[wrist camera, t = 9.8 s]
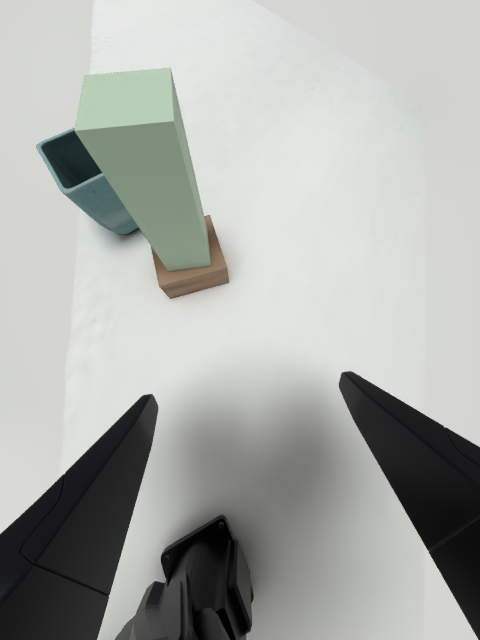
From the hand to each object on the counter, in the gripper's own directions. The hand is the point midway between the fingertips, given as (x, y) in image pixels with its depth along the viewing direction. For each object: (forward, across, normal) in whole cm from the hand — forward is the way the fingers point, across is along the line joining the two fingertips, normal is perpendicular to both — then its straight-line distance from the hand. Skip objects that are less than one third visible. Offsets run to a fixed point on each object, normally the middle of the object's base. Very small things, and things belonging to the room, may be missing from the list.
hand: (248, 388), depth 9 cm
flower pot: (+28, +14, -8) cm, 32 cm away
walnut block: (+21, +5, -1) cm, 22 cm away
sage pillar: (+18, +5, -4) cm, 19 cm away
